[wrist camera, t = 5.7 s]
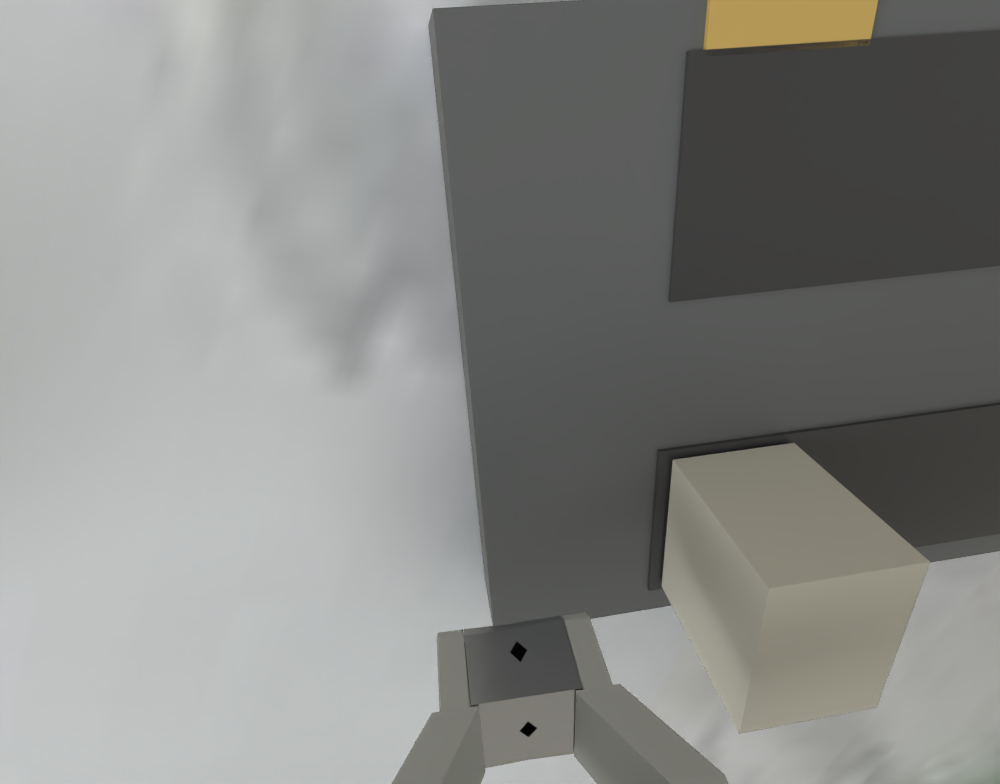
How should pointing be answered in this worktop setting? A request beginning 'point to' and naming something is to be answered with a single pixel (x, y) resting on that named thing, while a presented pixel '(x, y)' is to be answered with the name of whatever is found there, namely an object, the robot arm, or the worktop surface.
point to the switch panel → (718, 268)
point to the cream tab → (785, 585)
